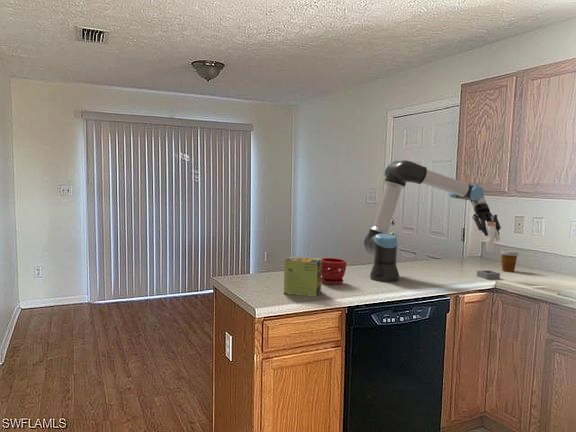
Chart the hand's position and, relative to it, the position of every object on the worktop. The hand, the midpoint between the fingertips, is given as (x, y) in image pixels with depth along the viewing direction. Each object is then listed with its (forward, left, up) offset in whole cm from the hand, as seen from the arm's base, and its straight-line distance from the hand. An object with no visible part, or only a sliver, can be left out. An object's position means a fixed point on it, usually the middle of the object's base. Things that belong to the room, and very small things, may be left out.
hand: (494, 240), depth 233 cm
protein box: (-107, -7, -22) cm, 109 cm away
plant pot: (-87, +9, -22) cm, 90 cm away
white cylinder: (+1, +4, -7) cm, 8 cm away
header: (0, +4, -22) cm, 22 cm away
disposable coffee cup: (+28, +22, -22) cm, 42 cm away
